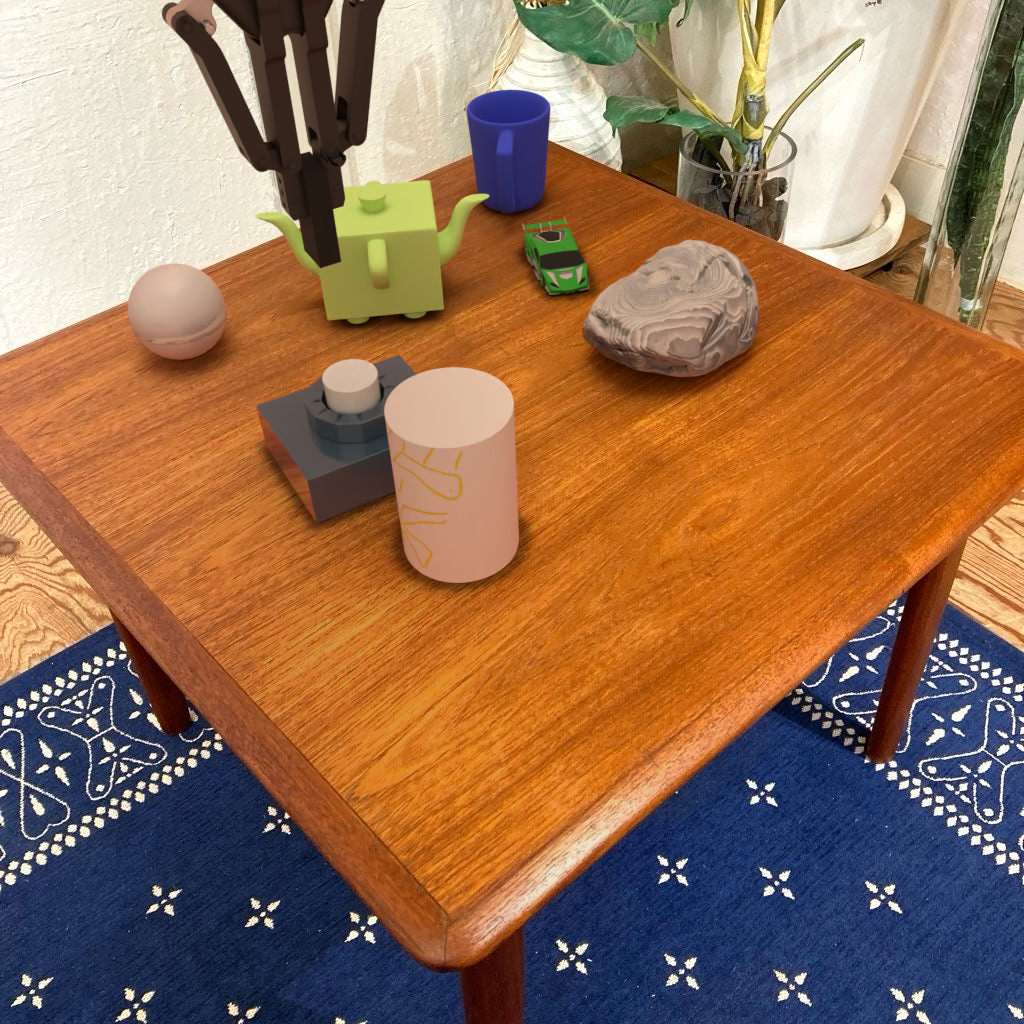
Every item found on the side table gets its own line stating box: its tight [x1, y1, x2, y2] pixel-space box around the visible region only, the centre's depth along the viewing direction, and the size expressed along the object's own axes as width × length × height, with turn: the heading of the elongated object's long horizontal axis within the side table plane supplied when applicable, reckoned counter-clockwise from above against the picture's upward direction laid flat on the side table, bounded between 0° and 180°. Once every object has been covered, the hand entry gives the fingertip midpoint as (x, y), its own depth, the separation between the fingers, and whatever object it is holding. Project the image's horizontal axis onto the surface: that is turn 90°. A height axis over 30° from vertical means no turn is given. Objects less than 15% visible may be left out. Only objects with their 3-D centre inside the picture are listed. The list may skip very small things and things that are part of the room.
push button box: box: [256, 354, 417, 524], centre depth 80 cm, size 12×10×6 cm
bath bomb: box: [127, 262, 228, 361], centre depth 90 cm, size 8×8×8 cm
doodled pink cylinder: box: [384, 366, 520, 584], centre depth 71 cm, size 8×8×12 cm
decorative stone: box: [582, 239, 760, 378], centre depth 89 cm, size 14×14×10 cm
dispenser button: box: [321, 358, 381, 414], centre depth 78 cm, size 4×4×2 cm
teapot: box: [255, 179, 489, 324], centre depth 94 cm, size 15×13×11 cm
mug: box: [466, 89, 551, 215], centre depth 106 cm, size 8×12×10 cm
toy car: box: [521, 217, 590, 296], centre depth 100 cm, size 10×5×2 cm, turn 13°
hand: (322, 255), depth 71 cm, fingers closed
